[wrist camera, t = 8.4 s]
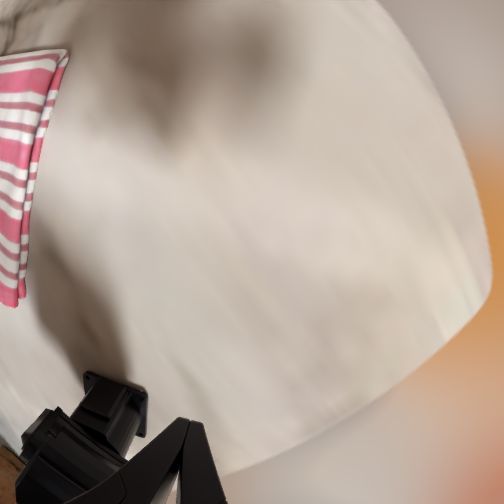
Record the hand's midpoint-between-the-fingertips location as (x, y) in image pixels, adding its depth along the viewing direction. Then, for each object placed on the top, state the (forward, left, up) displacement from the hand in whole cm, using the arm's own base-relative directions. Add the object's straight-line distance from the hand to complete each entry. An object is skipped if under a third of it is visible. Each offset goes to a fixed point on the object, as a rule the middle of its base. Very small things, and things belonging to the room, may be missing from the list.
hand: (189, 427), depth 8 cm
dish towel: (+6, +26, -13) cm, 30 cm away
